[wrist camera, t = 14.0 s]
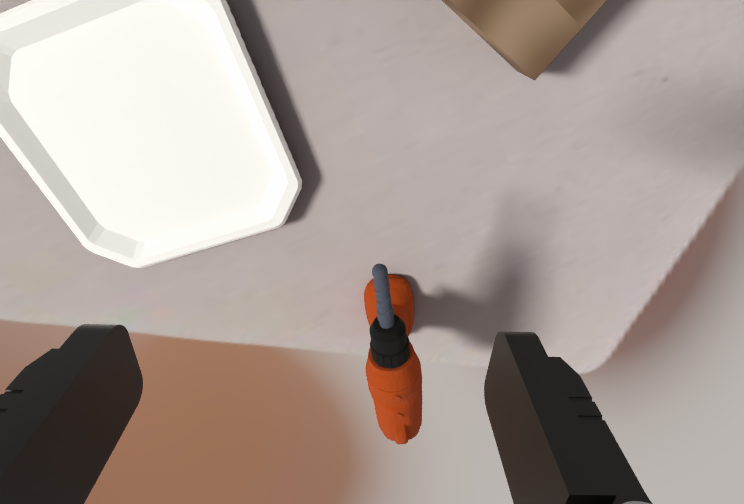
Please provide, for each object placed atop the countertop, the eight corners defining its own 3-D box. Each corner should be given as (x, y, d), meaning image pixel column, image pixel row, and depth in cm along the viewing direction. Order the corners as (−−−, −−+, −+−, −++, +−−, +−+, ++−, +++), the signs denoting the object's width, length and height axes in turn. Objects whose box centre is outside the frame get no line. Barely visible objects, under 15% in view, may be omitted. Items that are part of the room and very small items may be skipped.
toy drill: (402, 166, 35) (426, 295, 24) (415, 324, 47) (435, 463, 35) (343, 173, 36) (336, 305, 24) (369, 328, 47) (374, 468, 35)
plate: (319, 206, 39) (317, 217, 37) (118, 266, 42) (106, 279, 40) (207, -65, 29) (195, -69, 27) (-49, 39, 32) (-76, 42, 30)
